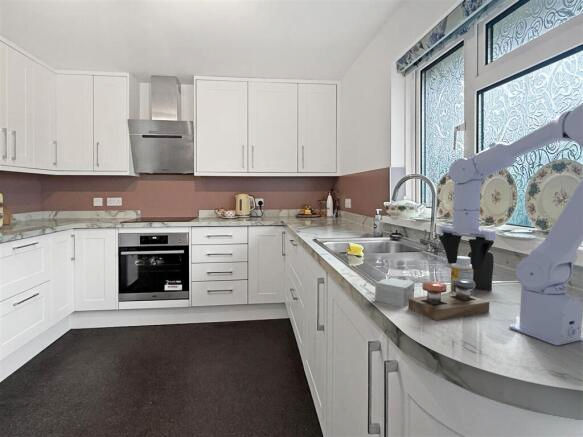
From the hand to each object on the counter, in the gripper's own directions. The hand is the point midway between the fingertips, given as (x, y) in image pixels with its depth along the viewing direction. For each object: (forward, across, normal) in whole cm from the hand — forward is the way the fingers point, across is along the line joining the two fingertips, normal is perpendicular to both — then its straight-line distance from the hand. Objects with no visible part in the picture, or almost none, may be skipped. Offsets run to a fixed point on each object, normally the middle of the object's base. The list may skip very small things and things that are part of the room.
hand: (463, 266), depth 84 cm
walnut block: (+10, 0, +4) cm, 11 cm away
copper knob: (+8, 0, +9) cm, 12 cm away
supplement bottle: (+11, +10, -10) cm, 18 cm away
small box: (+11, +11, +12) cm, 19 cm away
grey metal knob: (+8, 0, 0) cm, 8 cm away
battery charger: (+11, +12, -20) cm, 25 cm away
